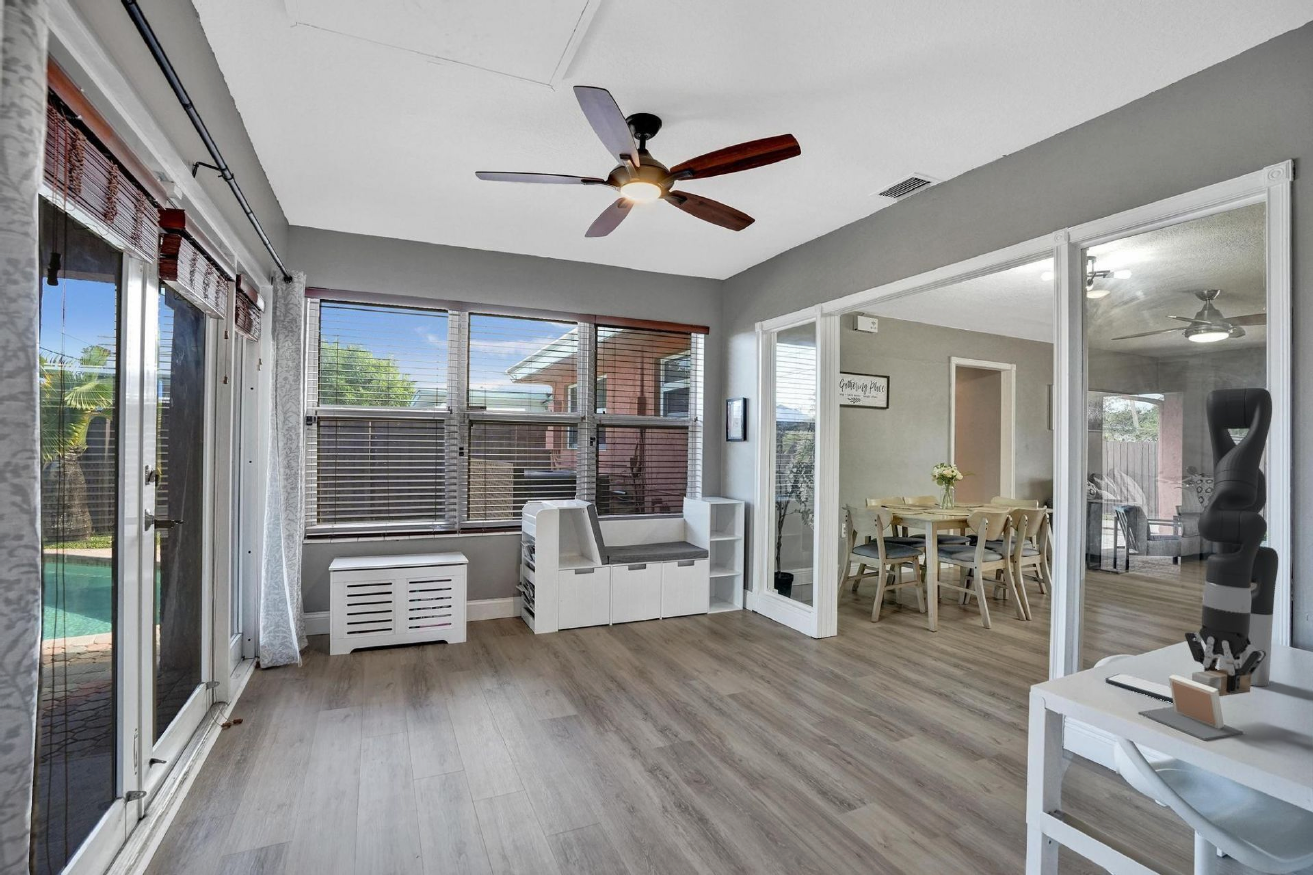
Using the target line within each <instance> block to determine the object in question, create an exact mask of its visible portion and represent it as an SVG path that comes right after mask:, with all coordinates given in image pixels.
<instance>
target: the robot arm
mask: <svg viewBox="0 0 1313 875" xmlns="http://www.w3.org/2000/svg"><path fill="white" fill-rule="evenodd" d="M1205 401H1206V402H1205V403H1206V404H1205V410H1206V419H1207V420H1206V421H1207V425H1208V432H1209V438H1210V443H1211V452H1212V464H1213V466H1212V467H1213V486H1212V491H1211V496H1210V498H1209V500H1208V502H1207V504H1206V506H1205V508H1204V509H1203V510H1202V512H1201V514H1200V517H1199V519H1198V522H1197V530H1198V533H1199V535H1200V536H1201V537H1202V539H1204V540H1205V541H1209V542H1212V543H1217V553H1216V554H1215V553H1214V554H1210V555H1209V556H1208V557H1207V560H1206V572H1205V573H1206V574H1205V584H1204V588H1203V593H1202V610H1201V621H1200V622H1201V628H1200V629H1199V631H1197V632H1194V631H1191V632H1185V633H1184V636H1185V640H1186V642H1187V645H1188V647H1189V650H1190V653H1191V656H1192V658H1193V660H1194V661H1195V662H1197V663H1200V664H1201V665H1202V666H1203V668H1204V669H1203V672H1204V671H1214V670H1221V669H1228V673H1229V674H1227V688H1226V692H1227V693H1230V694H1232V693H1236V691H1239V689H1240V677H1241V676H1245V675H1251V684H1250V686H1256V687H1267V686H1269V683H1270V676H1271V675H1270V674H1271V673H1270V672H1271V660H1272V658H1271V657H1272V637H1273V622H1274V606H1275V594H1276V593H1275V592H1276V590H1275V589H1276V583H1277V578H1278V577H1277V576H1278V570H1279V555H1278V553H1277V551H1276V549H1274V548H1273V547H1269V546H1264V545H1263V546H1262V545H1261V544H1262V542H1263V541H1264V538H1265V536H1266V533H1267V528H1268V525H1267V521H1266V520H1265V518H1264V517H1263V516H1262V515H1261V514H1259V513H1260V512H1261V511H1262V510H1263V508H1264V507H1265V505H1266V503H1267V485H1266V484H1267V483H1266V477H1265V474H1264V472H1263V471H1262V470H1261V468H1260V465H1261V461H1262V458H1263V454H1264V451H1265V447H1266V443H1267V439H1268V434H1269V431H1270V427H1271V422H1272V415H1273V400H1272V395H1271V393H1270V391H1269V390H1268V389H1266V388H1264V387H1263V388H1262V387H1243V388H1240V387H1239V388H1220V389H1213V390H1211V391H1209V393H1208V395H1207V397H1206V400H1205ZM1229 430H1248V431H1247V433H1246V435H1245V436H1244V437H1243V438H1242V439H1241V440H1240V441H1239V442H1238V443H1237V444H1236V443H1235V441H1234V439H1233V437H1232V435H1231V433H1230V431H1229ZM1252 584H1256V587H1255V588H1254V589H1252V588H1251V587H1252ZM1251 589H1252V590H1251ZM1202 642H1204V644H1205V649H1204V647H1203V644H1202ZM1218 662H1219V663H1218ZM1218 664H1219V665H1218ZM1217 665H1218V668H1217Z"/></svg>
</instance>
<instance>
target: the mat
mask: <svg viewBox="0 0 1313 875" xmlns="http://www.w3.org/2000/svg"><path fill="white" fill-rule="evenodd" d="M1140 714H1141V716H1142V715H1143V717H1145V716H1146V718H1147V717H1148V719H1150V720H1152V719H1153V721H1155V722H1157V721H1158V722H1157V723H1160V724H1163V725H1164V726H1167V727H1170V728H1172V729H1175V730H1177V731H1180V732H1182V733H1185V734H1187V735H1189V736H1192V737H1194V738H1196V739H1197V738H1198V739H1199V740H1201V741H1204V742H1205V741H1208V740H1215V739H1220V738H1226V737H1230V736H1238V735H1242V734H1244V731H1242V730H1241V729H1237V728H1235V727H1231V726H1229V725H1227V724H1224V726H1223V727H1222V728H1220V729H1218V728H1215V727H1213V726H1210V725H1207V724H1205V723H1202V722H1200V721H1197V720H1194V719H1192V718H1189V717H1186V716H1184V715H1181V714H1179V713H1176V712H1175V709H1174V706H1169V707H1163V708H1157V709H1150V710H1144V711H1143V710H1142V711H1138V715H1140ZM1237 734H1238V735H1237Z"/></svg>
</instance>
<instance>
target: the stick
mask: <svg viewBox="0 0 1313 875" xmlns="http://www.w3.org/2000/svg"><path fill="white" fill-rule="evenodd" d="M1227 674H1229V673H1228V669H1221V670H1219V669H1217V670H1214V671H1204V670H1203V671H1197V672H1192V674H1191V680H1192V681H1195V682H1198V683H1201V684H1204V685H1207V686H1210V687H1213V688H1216V689H1218V693H1219V697H1223V696H1224V697H1225V696H1233V695H1239V694H1240V695H1241V694H1247V693H1250V692H1251V685H1250V684H1251V675H1245V676H1241V677H1240V689H1239V691H1236V693H1232V694H1230V693H1227V692H1226V688H1227Z"/></svg>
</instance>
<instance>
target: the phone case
mask: <svg viewBox="0 0 1313 875" xmlns="http://www.w3.org/2000/svg"><path fill="white" fill-rule="evenodd" d="M1105 683H1106V684H1108V685H1111V686H1114V687H1118V688H1121V689H1124V690H1127V691H1130V692H1133V691H1134V693H1136V692H1137V694H1139V693H1142V694H1145V695H1148V696H1147V697H1149V696H1151V697H1150V698H1152V697H1154V698H1153V699H1155V698H1158V699H1162V700H1164V701H1163V702H1165V701H1169V702H1171V703H1173V698H1172V692H1171V687H1170V686H1167V685H1164V684H1159V683H1157V682H1153V681H1150V680H1145V679H1142V678H1138V677H1135V676H1133V675H1132V676H1131V675H1128V674H1124V673H1118V674H1115V675H1112V676H1109V677H1106V678H1105ZM1142 694H1141V695H1142ZM1145 695H1144V696H1145ZM1158 699H1157V700H1158ZM1171 703H1170V704H1171Z"/></svg>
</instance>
